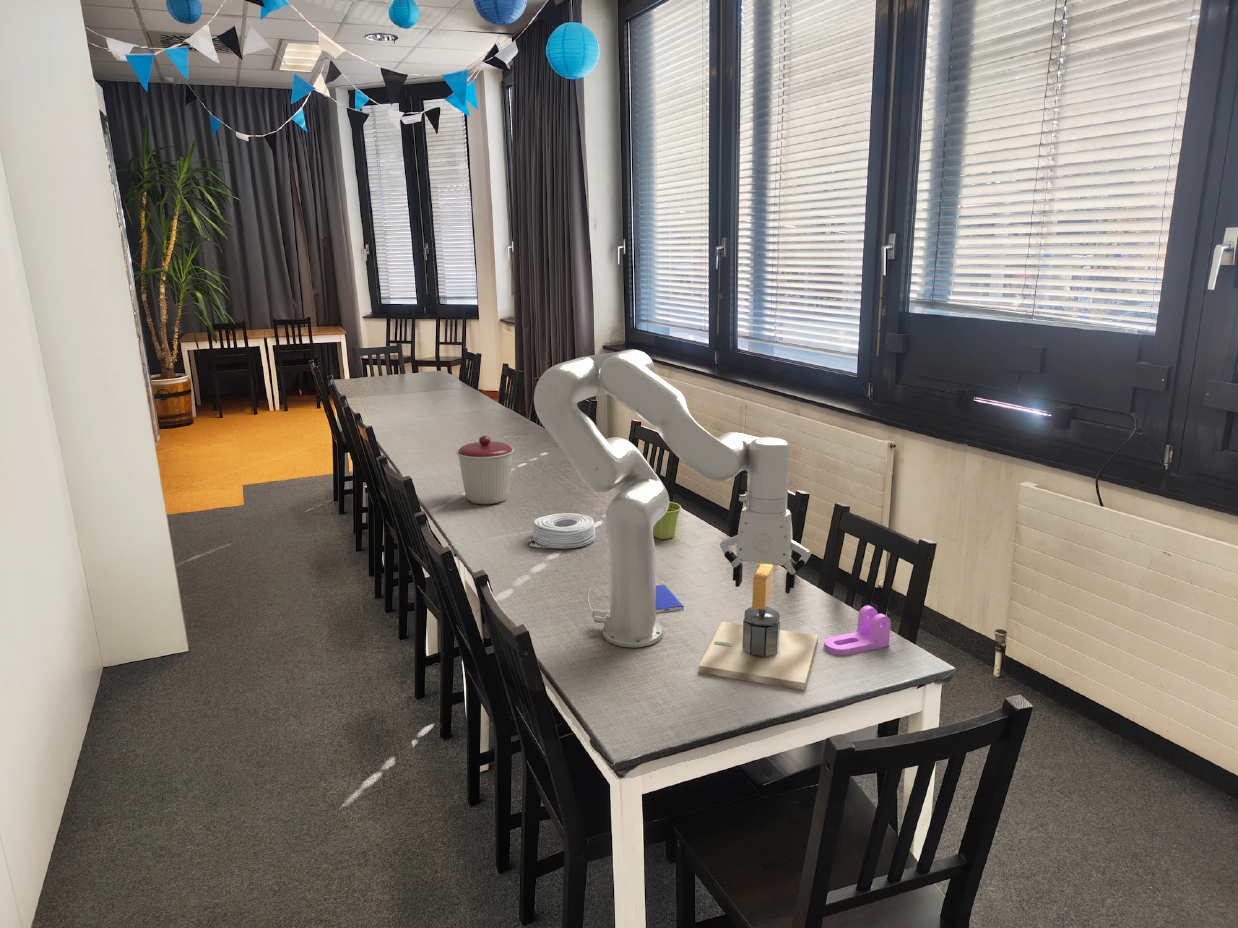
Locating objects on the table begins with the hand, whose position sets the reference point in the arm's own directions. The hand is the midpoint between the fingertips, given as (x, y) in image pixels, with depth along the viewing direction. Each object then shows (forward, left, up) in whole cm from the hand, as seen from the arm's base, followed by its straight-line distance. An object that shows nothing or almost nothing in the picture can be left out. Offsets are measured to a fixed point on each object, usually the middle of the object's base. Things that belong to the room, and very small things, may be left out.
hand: (763, 587), depth 160 cm
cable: (-63, +50, -15) cm, 82 cm away
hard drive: (-27, +19, -16) cm, 37 cm away
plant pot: (-38, +61, -15) cm, 73 cm away
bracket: (+17, +11, -15) cm, 25 cm away
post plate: (0, 0, -15) cm, 15 cm away
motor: (0, +1, -13) cm, 13 cm away
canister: (-101, +75, -15) cm, 127 cm away
